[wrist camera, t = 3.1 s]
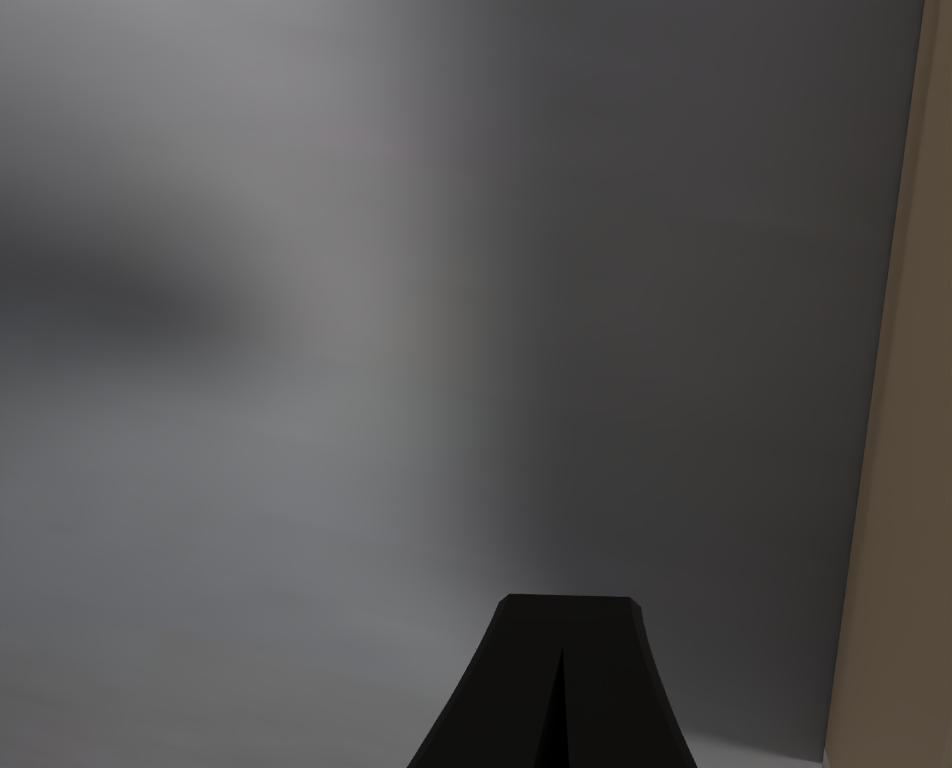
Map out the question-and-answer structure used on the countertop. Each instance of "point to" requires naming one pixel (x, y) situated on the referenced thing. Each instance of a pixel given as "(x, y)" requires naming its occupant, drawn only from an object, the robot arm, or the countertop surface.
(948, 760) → the mailer lid
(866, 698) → the mailer base
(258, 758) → the countertop surface
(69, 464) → the countertop surface
